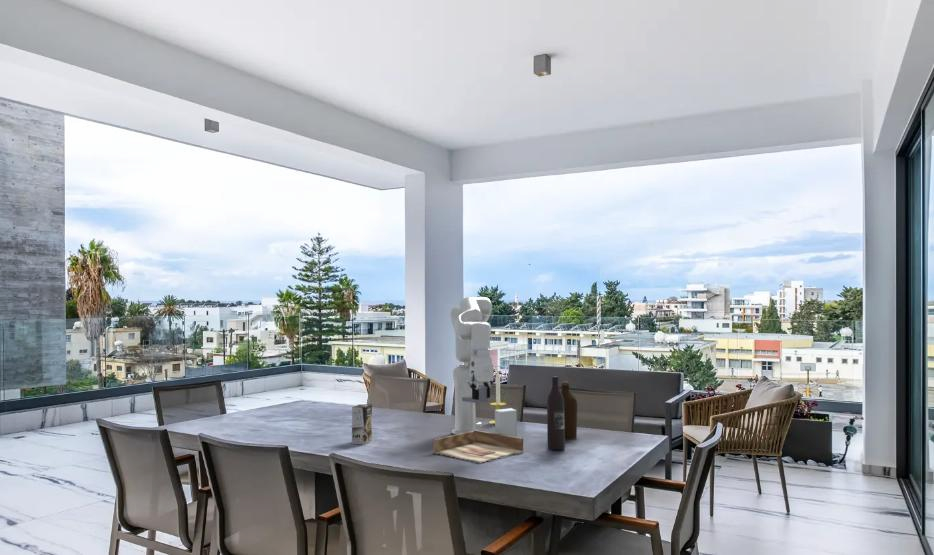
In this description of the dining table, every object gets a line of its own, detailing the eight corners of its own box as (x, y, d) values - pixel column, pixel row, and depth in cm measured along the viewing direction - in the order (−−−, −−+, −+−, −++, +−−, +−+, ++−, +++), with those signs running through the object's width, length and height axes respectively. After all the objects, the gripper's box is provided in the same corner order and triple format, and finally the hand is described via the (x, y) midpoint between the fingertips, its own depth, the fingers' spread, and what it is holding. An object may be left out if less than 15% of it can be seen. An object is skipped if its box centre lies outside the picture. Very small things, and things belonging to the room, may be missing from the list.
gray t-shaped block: (487, 401, 256) (487, 386, 256) (477, 403, 251) (477, 388, 252) (471, 399, 262) (471, 385, 262) (461, 401, 257) (461, 386, 258)
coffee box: (365, 444, 275) (365, 407, 275) (351, 444, 276) (351, 406, 277) (372, 440, 284) (372, 404, 284) (359, 439, 285) (359, 403, 286)
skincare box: (512, 442, 278) (511, 407, 279) (517, 444, 272) (517, 409, 273) (494, 443, 275) (494, 408, 276) (499, 446, 269) (499, 411, 270)
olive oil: (569, 434, 294) (569, 379, 295) (582, 438, 284) (581, 382, 286) (549, 436, 290) (549, 381, 291) (562, 440, 280) (561, 383, 282)
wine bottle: (554, 451, 258) (553, 377, 260) (544, 448, 265) (543, 376, 266) (568, 450, 262) (567, 376, 263) (558, 446, 268) (557, 375, 269)
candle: (487, 424, 320) (486, 370, 321) (489, 421, 330) (489, 368, 331) (507, 424, 318) (506, 370, 320) (509, 421, 328) (508, 369, 330)
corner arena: (476, 443, 276) (476, 430, 277) (523, 452, 258) (523, 438, 259) (433, 453, 257) (433, 439, 258) (480, 463, 240) (480, 448, 240)
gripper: (473, 355, 246) (473, 401, 245) (501, 352, 259) (502, 397, 258) (459, 354, 251) (459, 400, 250) (487, 351, 264) (488, 395, 263)
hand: (481, 398), depth 254 cm, fingers closed on gray t-shaped block, 6 cm apart
